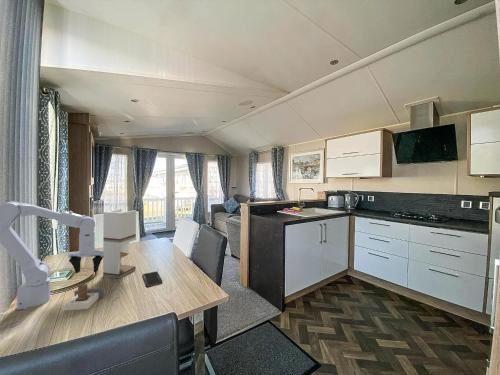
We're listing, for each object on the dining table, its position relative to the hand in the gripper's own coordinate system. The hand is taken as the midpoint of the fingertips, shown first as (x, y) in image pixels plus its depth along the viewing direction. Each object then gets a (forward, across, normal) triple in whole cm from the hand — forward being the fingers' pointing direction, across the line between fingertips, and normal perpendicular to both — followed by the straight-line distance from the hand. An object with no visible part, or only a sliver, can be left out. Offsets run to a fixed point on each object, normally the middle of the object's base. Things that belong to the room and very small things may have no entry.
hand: (86, 271), depth 99 cm
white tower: (+10, +6, +20) cm, 23 cm away
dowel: (+9, +5, -12) cm, 16 cm away
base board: (+9, +5, -15) cm, 18 cm away
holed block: (+8, +5, -12) cm, 16 cm away
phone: (+10, +26, +10) cm, 30 cm away
